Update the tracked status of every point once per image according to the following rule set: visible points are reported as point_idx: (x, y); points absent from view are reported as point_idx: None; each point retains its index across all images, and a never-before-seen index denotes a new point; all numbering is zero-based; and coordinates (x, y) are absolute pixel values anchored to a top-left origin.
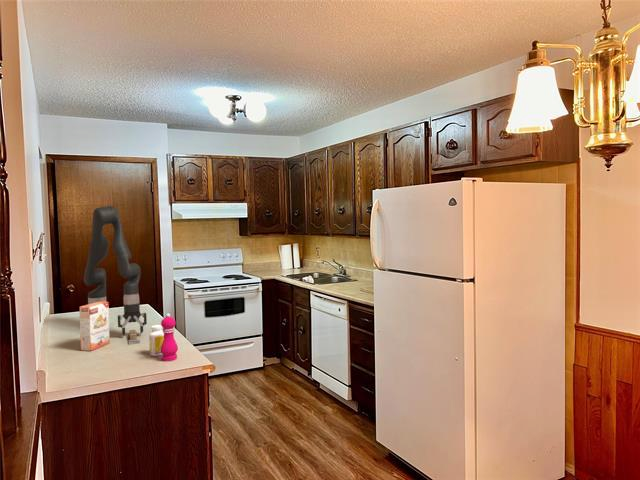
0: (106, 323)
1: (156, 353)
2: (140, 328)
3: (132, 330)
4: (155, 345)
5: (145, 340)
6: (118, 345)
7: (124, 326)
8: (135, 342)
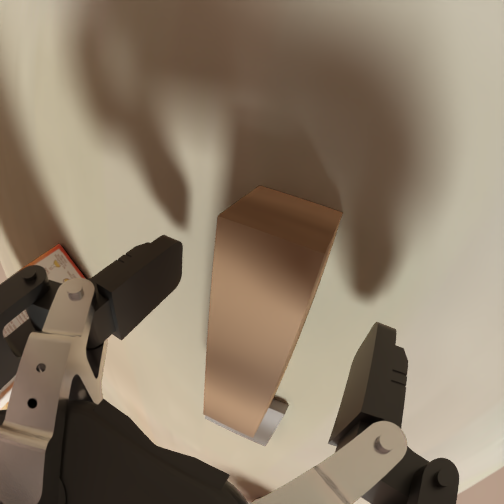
0: (6, 404)
1: None
2: (339, 416)
3: (266, 260)
4: None
5: (325, 430)
6: (157, 377)
7: (99, 355)
8: (241, 435)
